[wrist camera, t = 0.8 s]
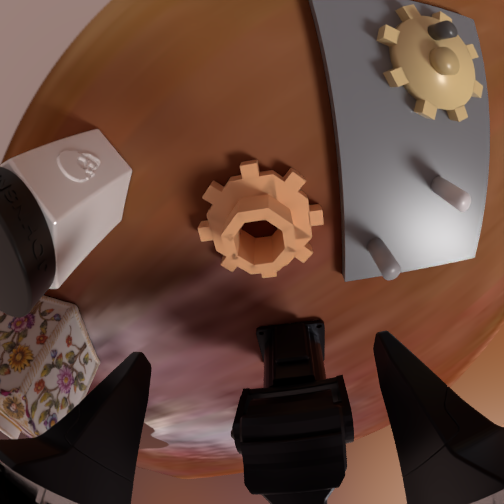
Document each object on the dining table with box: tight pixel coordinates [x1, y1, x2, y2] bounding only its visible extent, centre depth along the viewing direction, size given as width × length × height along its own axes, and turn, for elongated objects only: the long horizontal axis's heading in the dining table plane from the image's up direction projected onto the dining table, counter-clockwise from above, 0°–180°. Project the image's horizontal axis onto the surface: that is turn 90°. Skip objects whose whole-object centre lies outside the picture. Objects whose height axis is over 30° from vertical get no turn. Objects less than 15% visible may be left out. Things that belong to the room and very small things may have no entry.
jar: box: [0, 129, 132, 318], centre depth 14 cm, size 9×8×12 cm
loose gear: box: [198, 160, 323, 278], centre depth 18 cm, size 9×9×4 cm
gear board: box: [308, 0, 490, 282], centre depth 14 cm, size 22×14×4 cm, turn 10°
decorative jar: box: [0, 295, 100, 439], centre depth 21 cm, size 12×12×18 cm
